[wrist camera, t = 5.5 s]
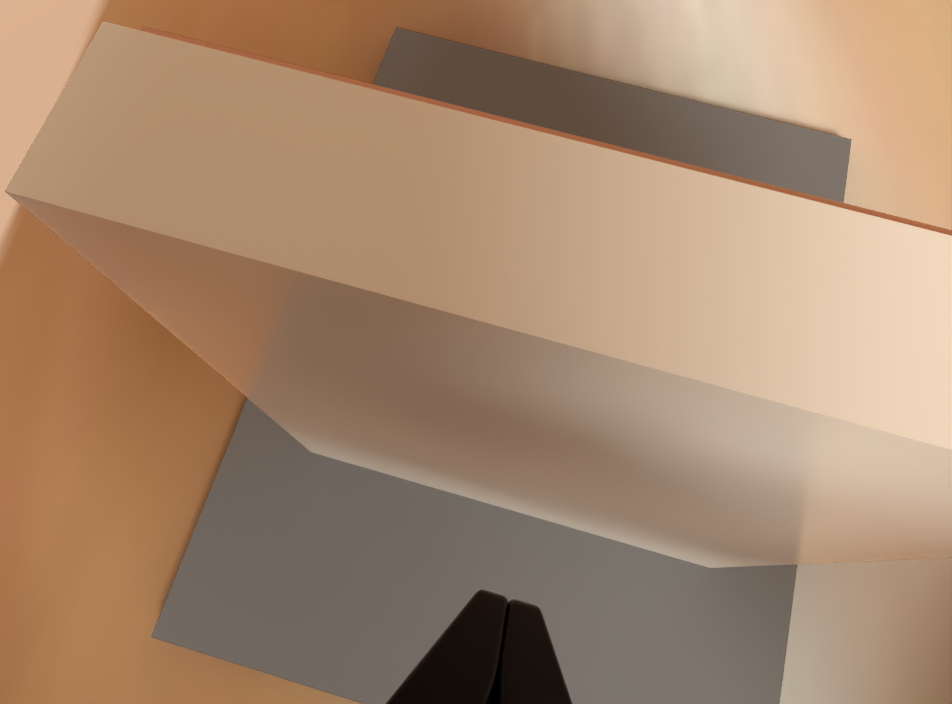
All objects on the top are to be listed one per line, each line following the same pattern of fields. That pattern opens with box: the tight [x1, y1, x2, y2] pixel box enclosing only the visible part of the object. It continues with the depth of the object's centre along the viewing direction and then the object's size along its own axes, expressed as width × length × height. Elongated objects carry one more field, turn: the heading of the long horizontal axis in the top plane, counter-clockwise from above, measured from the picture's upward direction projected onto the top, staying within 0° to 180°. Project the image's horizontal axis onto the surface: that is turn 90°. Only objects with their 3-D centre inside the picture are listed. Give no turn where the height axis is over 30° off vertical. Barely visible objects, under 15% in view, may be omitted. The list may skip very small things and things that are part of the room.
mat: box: [151, 27, 851, 704], centre depth 18 cm, size 18×14×1 cm
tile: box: [5, 21, 952, 568], centre depth 11 cm, size 2×10×12 cm, turn 74°
